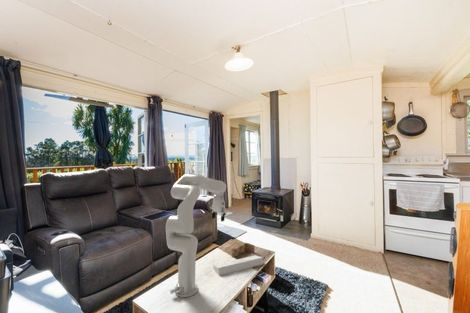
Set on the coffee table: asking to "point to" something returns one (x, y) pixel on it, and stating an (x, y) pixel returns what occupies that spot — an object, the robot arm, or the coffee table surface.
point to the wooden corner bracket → (243, 249)
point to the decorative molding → (238, 265)
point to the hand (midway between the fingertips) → (218, 219)
